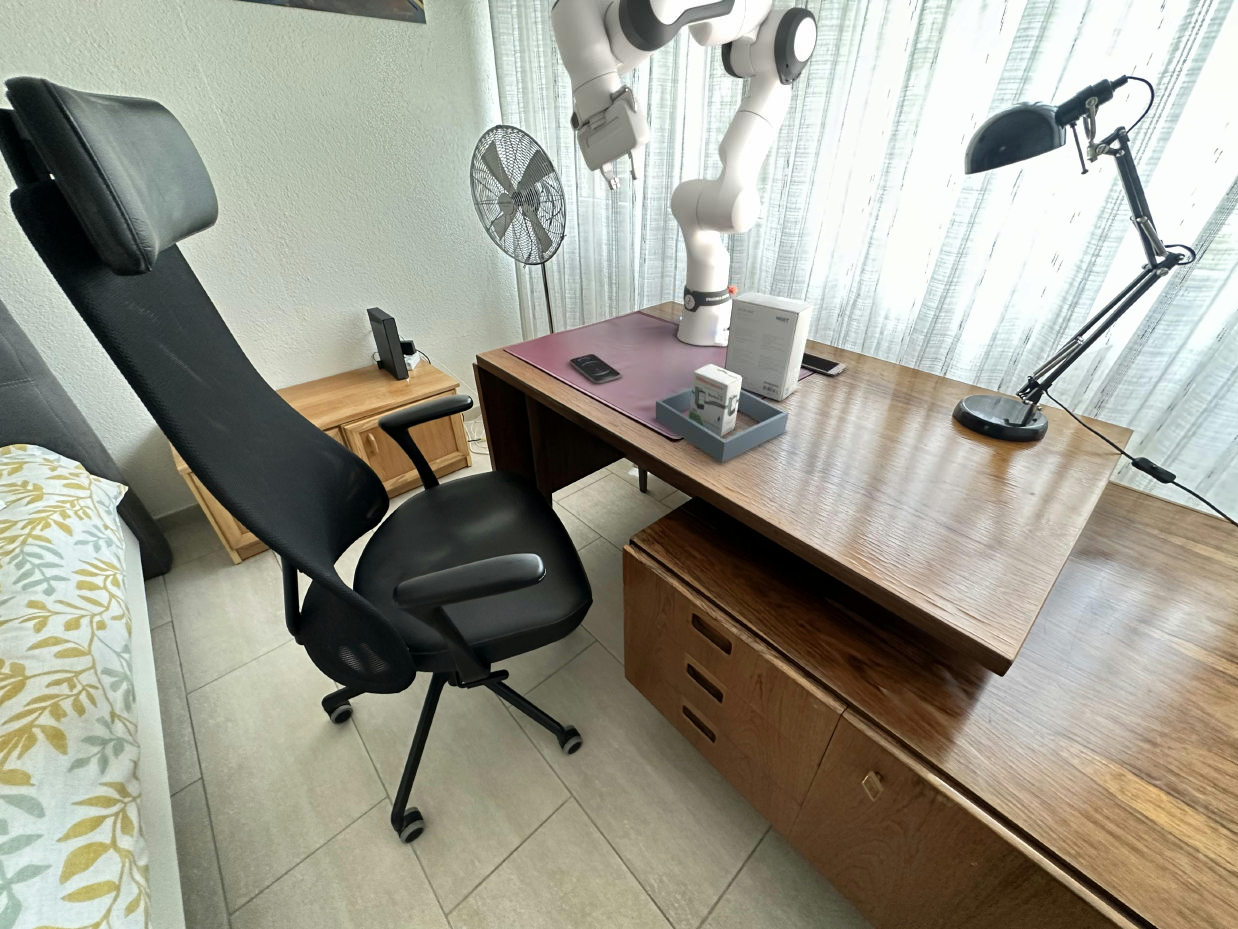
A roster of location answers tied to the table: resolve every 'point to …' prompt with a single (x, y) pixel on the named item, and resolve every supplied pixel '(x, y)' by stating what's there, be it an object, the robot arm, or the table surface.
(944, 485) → the table surface
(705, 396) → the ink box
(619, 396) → the table surface
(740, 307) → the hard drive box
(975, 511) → the table surface
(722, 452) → the tub
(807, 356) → the smartphone
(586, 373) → the smartphone
